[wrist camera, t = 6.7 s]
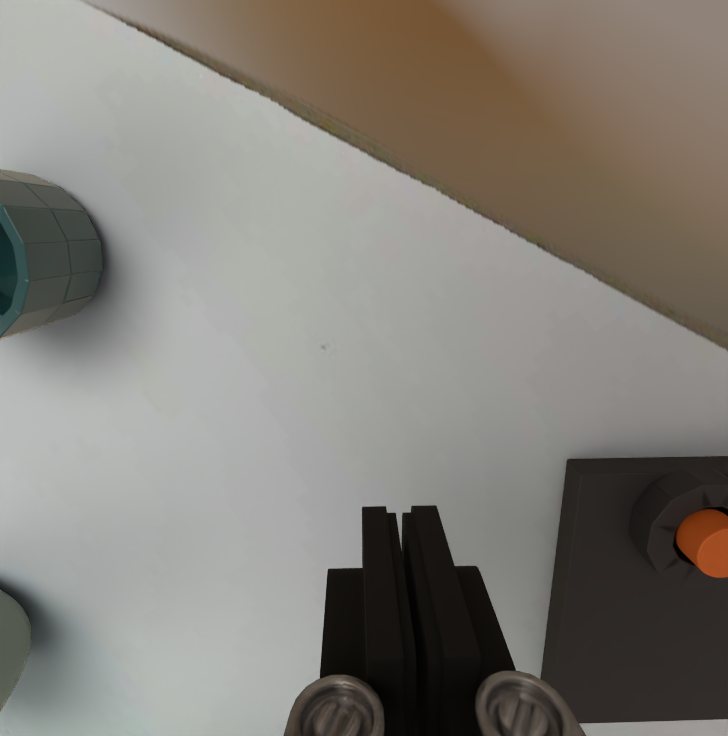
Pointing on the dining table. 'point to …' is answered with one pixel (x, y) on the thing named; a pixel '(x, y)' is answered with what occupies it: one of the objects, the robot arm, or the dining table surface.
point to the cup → (12, 644)
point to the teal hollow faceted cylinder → (43, 254)
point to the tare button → (705, 541)
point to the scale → (637, 594)
